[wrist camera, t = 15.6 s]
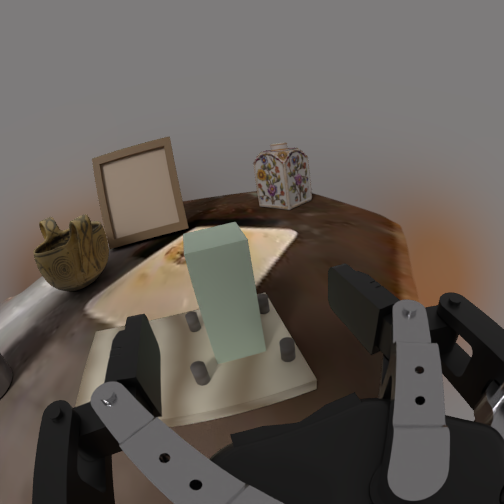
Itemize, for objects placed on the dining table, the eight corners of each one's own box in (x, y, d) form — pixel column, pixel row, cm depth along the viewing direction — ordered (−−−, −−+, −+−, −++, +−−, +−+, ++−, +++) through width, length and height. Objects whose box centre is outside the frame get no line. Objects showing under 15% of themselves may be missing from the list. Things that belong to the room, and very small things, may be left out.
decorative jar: (289, 211, 73) (281, 144, 66) (258, 207, 81) (249, 146, 74) (313, 199, 80) (307, 140, 73) (283, 197, 88) (276, 142, 81)
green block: (217, 364, 26) (184, 254, 21) (211, 333, 30) (183, 234, 25) (266, 351, 26) (247, 239, 22) (253, 322, 31) (235, 221, 26)
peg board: (79, 433, 19) (60, 414, 17) (100, 339, 33) (90, 320, 31) (316, 388, 23) (316, 364, 21) (266, 301, 37) (263, 279, 36)
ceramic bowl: (39, 292, 50) (15, 233, 43) (89, 260, 63) (72, 205, 57) (76, 316, 39) (42, 234, 33) (140, 270, 53) (119, 198, 46)
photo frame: (189, 231, 69) (168, 135, 60) (110, 252, 65) (85, 159, 56) (186, 218, 83) (170, 138, 73) (120, 236, 79) (100, 157, 69)
